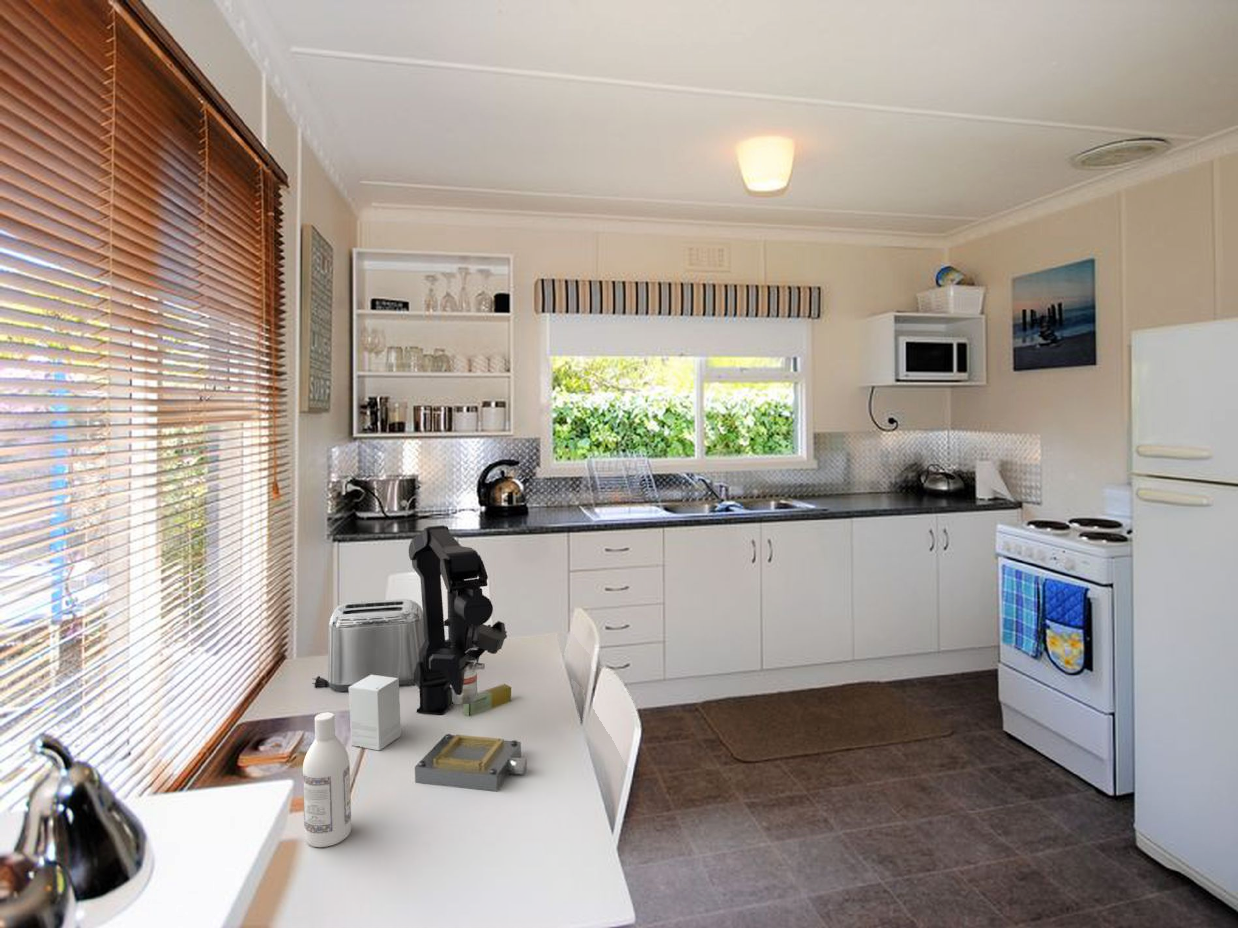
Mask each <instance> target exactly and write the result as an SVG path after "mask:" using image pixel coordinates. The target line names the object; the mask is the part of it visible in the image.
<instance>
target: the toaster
mask: <svg viewBox="0 0 1238 928" xmlns="http://www.w3.org/2000/svg"><path fill="white" fill-rule="evenodd" d="M331 614H332V615H331V616H330V619H329V624H328V653H327V654H328V655H327V661H328V662H327V679H326V678H323V677H321V676H320V675H318V676H317V677H314V678H313V677H312V680H315V682H312V685H314V688H315V689H316V688H317V687H319V688H323V687H329V688H330V689H331V690H333V691H337V692H339V693H342V692H349V688H348V687H350V686H352V685H353V684H355V683H357V682H359V681H360V680H362V679H364V678H366V677H368V676H370V675H378V676H385V677H393V678H399V685H402V686H409V685H416V684H415V682H414V670H415V668H416V665H417V662H419V656H418V654H419V651H420V649H421V647H422V646H423V644H424V642H425V637H424V622H423V608H422V606H420V605H419V603H417V602H416V601H414V600H412V599H405V598H403V599H400V598H399V599H398V598H397V599H384V600H383V599H381V600H369V601H368V600H367V601H358V602H355V601H354V602H345V603H341V604H339V605H337V606H336V608H334V611H333V612H332V613H331ZM422 678H423V677H422Z"/></svg>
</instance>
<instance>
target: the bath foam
mask: <svg viewBox="0 0 1238 928" xmlns="http://www.w3.org/2000/svg"><path fill="white" fill-rule="evenodd" d="M335 722H336V721H335V714H334V713H332V712H328V711H326V712H321V713H319V714H316V716H315V717H314V735H315V737H314V741H313V742H312V744H311V745H310V747H309V748H308V750H307V752H306V754H305V756H304V760H303V763H302V794H303V795H302V797H303V798H302V799H303V820H304V821H303V822H304V823H303V824H304V826H303V827H304V839H305V842H306V843H307V844H308V845H309V846H312V847H315V848H325V847H330V846H334V845H336V844H339V843H340V842H342V841H344V840H345V839H346V838H347V837H348V836H349V835H350V833H351V830H352V807H351V806H352V804H351V798H352V797H351V773H350V769H351V768H350V767H351V765H350V758H349V754H348V751H347V749H346V747H345V746H344V744H343V743H342V742H341V740H339V738H338V737H337V736H336V727H335V726H336V725H335V724H336V723H335Z"/></svg>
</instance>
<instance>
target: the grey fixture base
mask: <svg viewBox="0 0 1238 928" xmlns="http://www.w3.org/2000/svg"><path fill="white" fill-rule="evenodd" d="M521 742H522V741H518V740H508V739H507V740H506V739H504V738H496V737H495V738H494V737H487V736H486V737H485V736H474V735H465V734H455V735H453V734H452V733H451V734H450V733H447V734H445V735H444V736H443V737H442V738H441V739H440V740H439V741H438V742H437V743H436V744H435V745H434V746H433V748H432V749H430V751H429V752H428V753H427V754H425V755H424V757H423V758H422V759H421V760H420V761H419V762H418V763H417V764H416V765H415V766H414V783H417V784H425V785H426V784H427V785H435V786H443V787H444V786H445V787H453V788H462V789H463V788H464V789H471V790H477V791H479V790H480V791H488V792H489V791H490V792H498V790H499V789H500V788H501V786H503V783H505V780H507V778H508V776H509V774H513V775H514V774H515V775H523V776H524V775H525V774H526V770H527V766H528V761H527V758H525V757H524V758H523V757H522V743H521Z"/></svg>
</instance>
